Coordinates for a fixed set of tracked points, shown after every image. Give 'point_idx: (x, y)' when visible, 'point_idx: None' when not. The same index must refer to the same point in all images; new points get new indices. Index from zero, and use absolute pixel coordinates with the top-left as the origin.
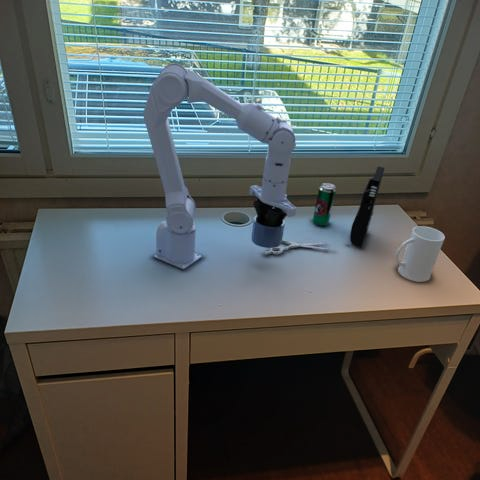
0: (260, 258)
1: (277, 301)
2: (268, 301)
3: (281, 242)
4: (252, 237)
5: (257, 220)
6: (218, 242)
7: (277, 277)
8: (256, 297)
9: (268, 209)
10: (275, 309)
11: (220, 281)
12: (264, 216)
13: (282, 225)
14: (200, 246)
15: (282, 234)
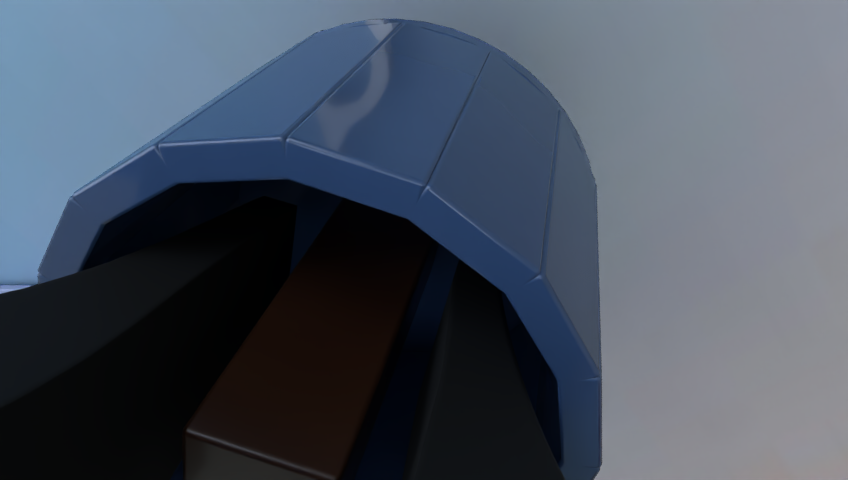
0: (375, 6)
1: (795, 407)
2: (739, 430)
3: (585, 155)
4: None
5: None
6: (6, 47)
7: (661, 170)
8: (651, 431)
9: (83, 460)
10: (815, 469)
11: None
12: (174, 410)
13: (593, 440)
14: (16, 183)
15: (598, 266)
